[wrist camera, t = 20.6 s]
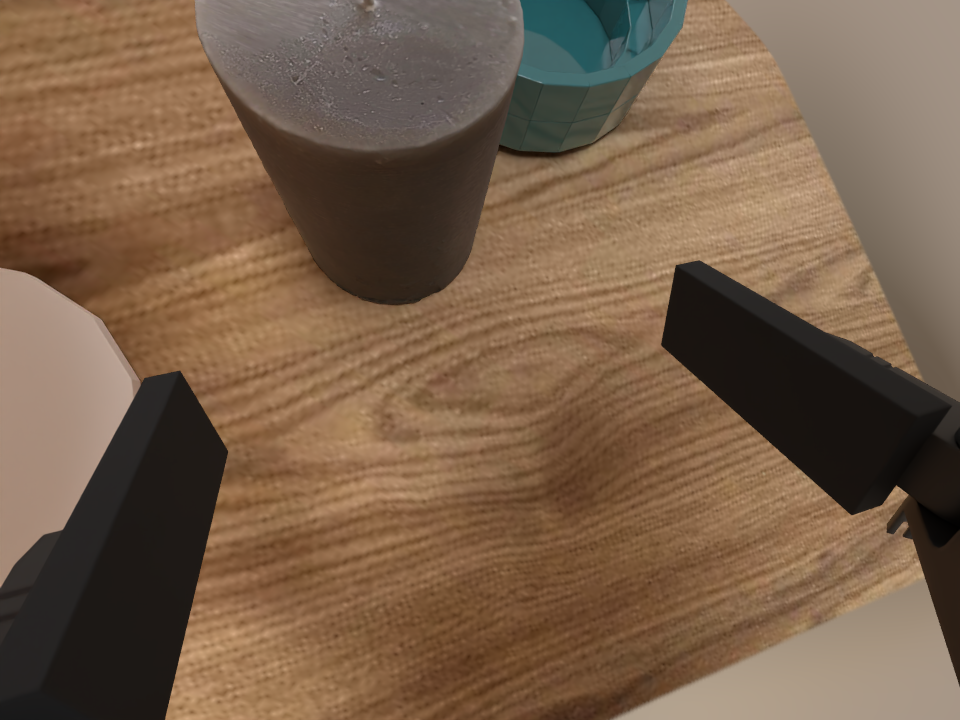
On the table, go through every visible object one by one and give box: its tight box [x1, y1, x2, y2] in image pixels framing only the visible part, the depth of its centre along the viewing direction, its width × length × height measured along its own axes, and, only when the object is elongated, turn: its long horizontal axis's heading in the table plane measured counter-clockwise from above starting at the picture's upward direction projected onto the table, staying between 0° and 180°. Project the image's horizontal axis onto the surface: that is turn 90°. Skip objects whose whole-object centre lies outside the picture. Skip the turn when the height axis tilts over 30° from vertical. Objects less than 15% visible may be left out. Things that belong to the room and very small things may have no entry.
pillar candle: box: [195, 0, 524, 304], centre depth 19 cm, size 10×10×15 cm
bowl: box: [499, 0, 688, 152], centre depth 27 cm, size 16×16×6 cm
